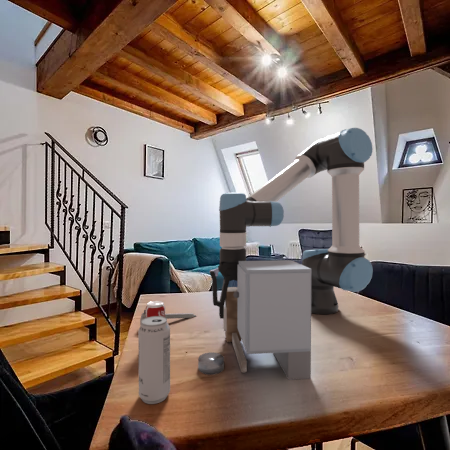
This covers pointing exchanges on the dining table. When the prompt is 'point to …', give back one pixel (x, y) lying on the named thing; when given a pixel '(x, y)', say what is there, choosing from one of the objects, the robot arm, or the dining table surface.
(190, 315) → the caliper
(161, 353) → the energy drink can
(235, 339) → the wooden mallet
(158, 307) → the soda can
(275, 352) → the cabinet
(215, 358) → the disc
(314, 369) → the dining table surface
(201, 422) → the dining table surface
